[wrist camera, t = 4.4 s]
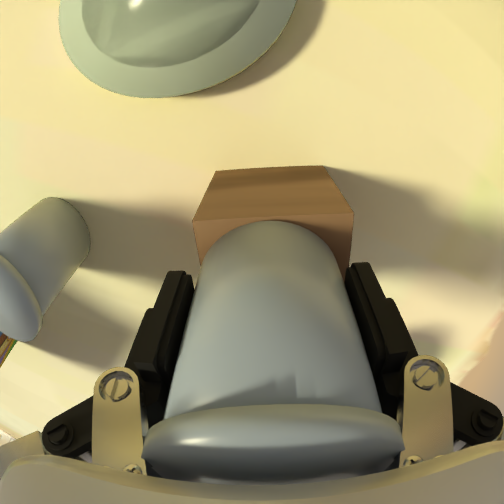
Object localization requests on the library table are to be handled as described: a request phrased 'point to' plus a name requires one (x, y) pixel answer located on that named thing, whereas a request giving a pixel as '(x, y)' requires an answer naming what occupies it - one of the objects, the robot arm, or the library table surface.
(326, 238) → the block
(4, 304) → the blue-grey domed cylinder
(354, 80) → the library table surface
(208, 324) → the grey bell shape
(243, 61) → the dish
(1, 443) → the cream rounded piece
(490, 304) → the library table surface
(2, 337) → the chalk box
